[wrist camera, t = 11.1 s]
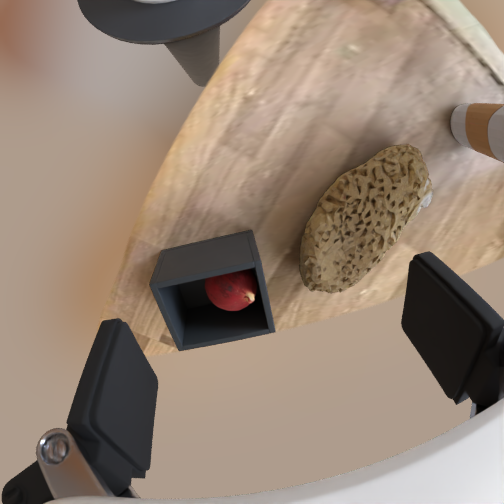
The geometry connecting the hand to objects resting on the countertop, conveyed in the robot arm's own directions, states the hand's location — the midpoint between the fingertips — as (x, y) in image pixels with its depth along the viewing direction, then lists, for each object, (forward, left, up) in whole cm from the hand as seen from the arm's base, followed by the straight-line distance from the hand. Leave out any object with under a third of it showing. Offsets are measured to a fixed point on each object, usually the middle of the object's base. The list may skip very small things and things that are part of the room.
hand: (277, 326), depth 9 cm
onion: (+5, -12, -26) cm, 29 cm away
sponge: (+15, +4, -27) cm, 31 cm away
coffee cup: (+21, +26, -27) cm, 43 cm away
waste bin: (+5, -12, -27) cm, 30 cm away
